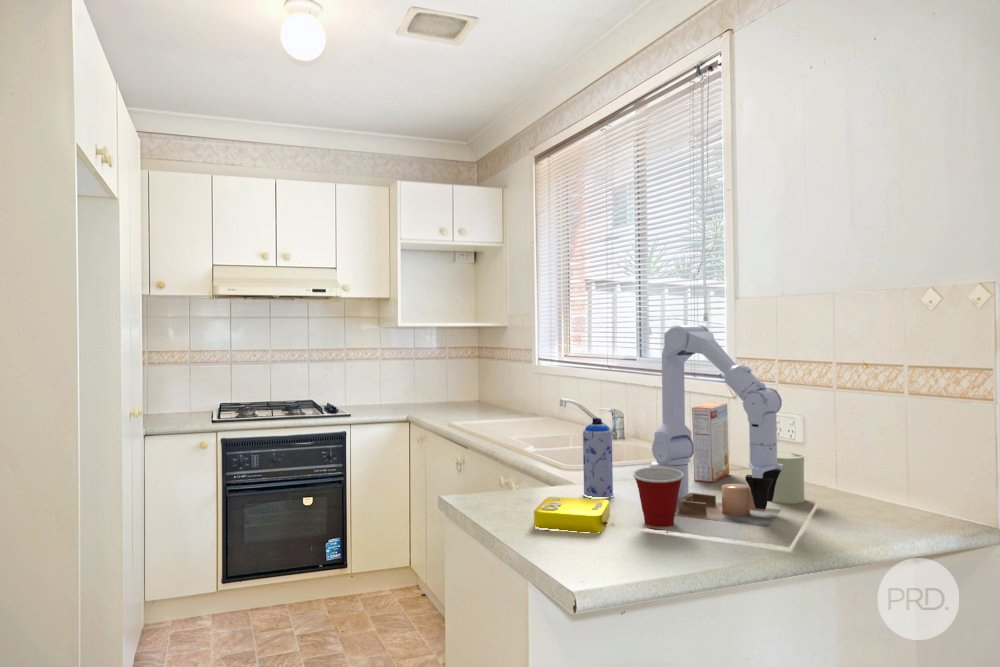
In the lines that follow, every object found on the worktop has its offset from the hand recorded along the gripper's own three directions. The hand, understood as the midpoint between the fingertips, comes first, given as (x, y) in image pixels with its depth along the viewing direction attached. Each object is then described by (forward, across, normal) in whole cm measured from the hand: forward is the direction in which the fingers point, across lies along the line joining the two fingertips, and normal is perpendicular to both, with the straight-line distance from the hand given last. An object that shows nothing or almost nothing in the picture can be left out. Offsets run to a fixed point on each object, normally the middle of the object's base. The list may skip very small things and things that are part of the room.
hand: (764, 504), depth 157 cm
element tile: (+4, -21, +37) cm, 43 cm away
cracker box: (+4, +40, +22) cm, 46 cm away
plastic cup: (+4, -16, +19) cm, 25 cm away
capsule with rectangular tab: (+3, 0, +4) cm, 5 cm away
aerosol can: (+4, +5, +42) cm, 42 cm away
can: (+4, +19, -1) cm, 19 cm away
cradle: (+3, 0, +8) cm, 8 cm away
